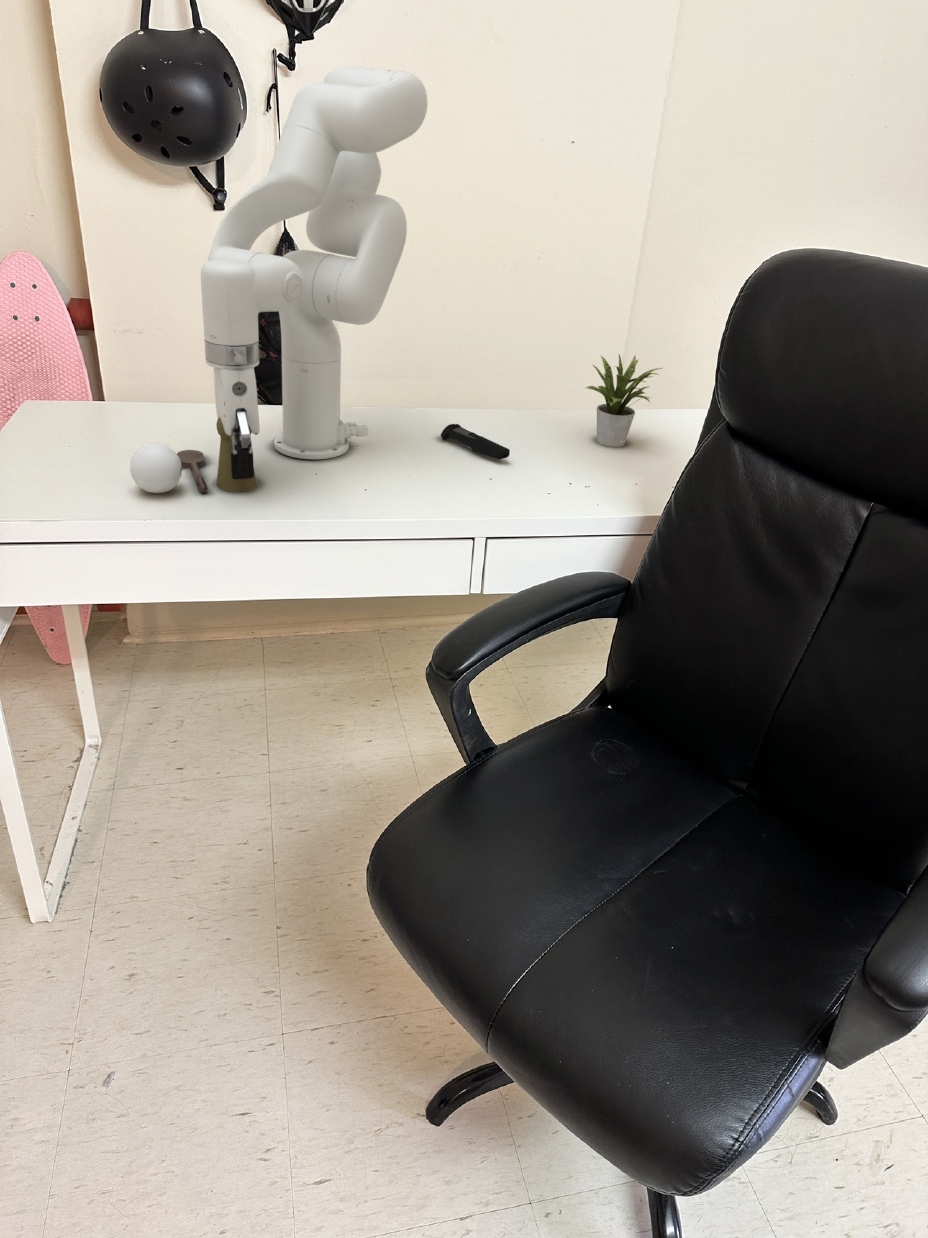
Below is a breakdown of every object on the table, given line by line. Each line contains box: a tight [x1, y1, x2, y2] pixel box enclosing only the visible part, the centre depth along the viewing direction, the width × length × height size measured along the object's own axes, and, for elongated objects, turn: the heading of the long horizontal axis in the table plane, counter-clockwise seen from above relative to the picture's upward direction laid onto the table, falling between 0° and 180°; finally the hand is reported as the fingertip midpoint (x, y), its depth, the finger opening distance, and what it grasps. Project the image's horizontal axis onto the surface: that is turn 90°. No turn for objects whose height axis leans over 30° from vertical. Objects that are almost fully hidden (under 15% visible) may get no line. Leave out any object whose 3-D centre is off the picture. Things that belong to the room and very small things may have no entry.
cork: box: [215, 417, 258, 493], centre depth 142 cm, size 6×6×11 cm
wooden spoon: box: [176, 449, 209, 494], centre depth 147 cm, size 16×4×1 cm, turn 22°
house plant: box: [585, 354, 663, 448], centre depth 171 cm, size 14×14×16 cm
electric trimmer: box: [440, 423, 511, 461], centre depth 166 cm, size 4×16×3 cm, turn 42°
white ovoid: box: [129, 442, 184, 494], centre depth 140 cm, size 10×7×7 cm
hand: (237, 466), depth 144 cm, fingers open, 8 cm apart
